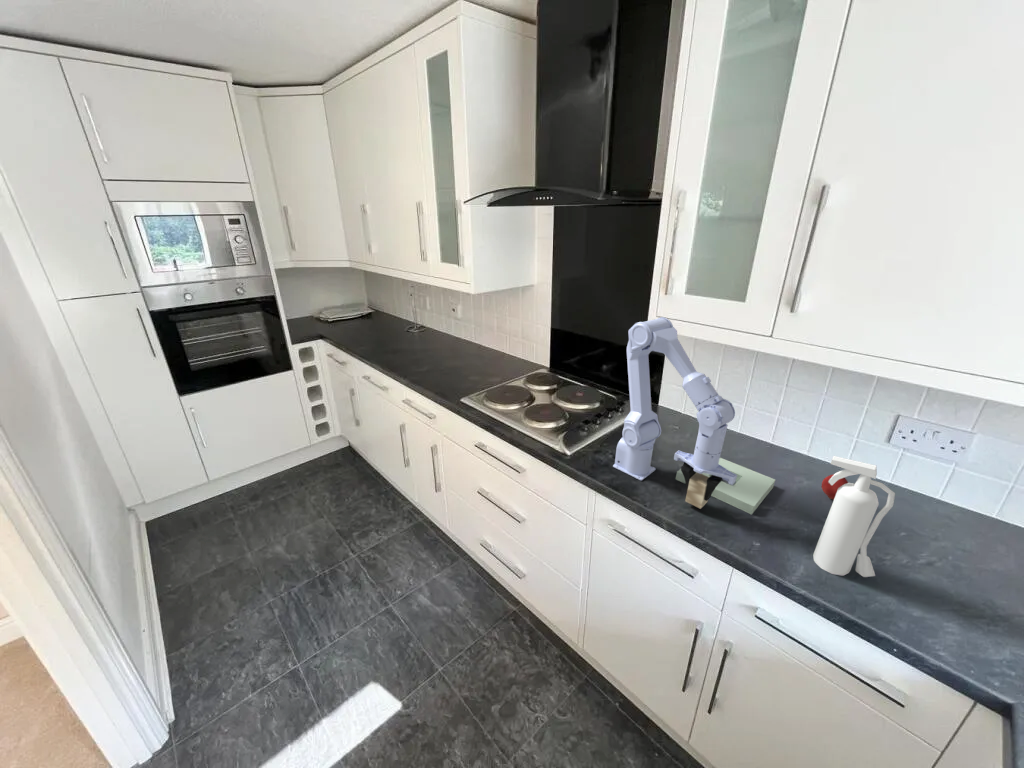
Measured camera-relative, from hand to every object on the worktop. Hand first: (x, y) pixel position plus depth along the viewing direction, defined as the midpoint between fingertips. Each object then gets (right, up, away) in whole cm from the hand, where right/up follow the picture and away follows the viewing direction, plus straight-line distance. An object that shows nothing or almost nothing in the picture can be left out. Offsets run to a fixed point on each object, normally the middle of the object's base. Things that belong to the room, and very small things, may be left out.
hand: (697, 494), depth 106 cm
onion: (+37, -2, +4) cm, 37 cm away
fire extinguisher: (+22, -11, -16) cm, 29 cm away
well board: (+12, 0, +10) cm, 15 cm away
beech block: (0, -2, +1) cm, 2 cm away
